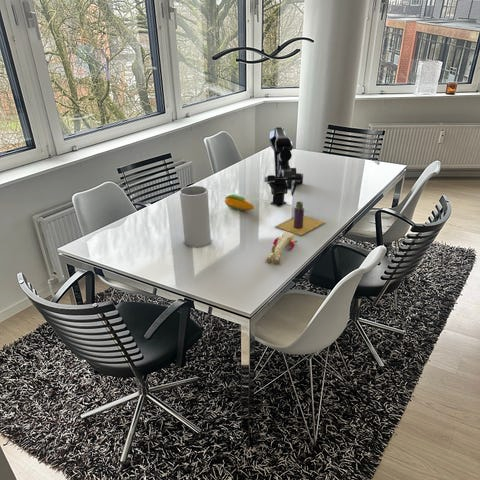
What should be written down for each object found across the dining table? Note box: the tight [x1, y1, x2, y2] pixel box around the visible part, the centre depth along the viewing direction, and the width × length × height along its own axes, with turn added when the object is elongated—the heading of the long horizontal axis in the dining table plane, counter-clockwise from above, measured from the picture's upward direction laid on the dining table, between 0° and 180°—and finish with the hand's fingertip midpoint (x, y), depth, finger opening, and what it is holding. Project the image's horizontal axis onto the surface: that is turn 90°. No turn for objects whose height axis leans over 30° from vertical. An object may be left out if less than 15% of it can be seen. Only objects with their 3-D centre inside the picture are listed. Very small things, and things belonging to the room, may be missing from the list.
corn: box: [224, 194, 255, 212], centre depth 248 cm, size 7×8×20 cm
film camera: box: [286, 167, 304, 190], centre depth 279 cm, size 18×12×10 cm
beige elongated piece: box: [266, 231, 298, 265], centre depth 205 cm, size 10×9×25 cm
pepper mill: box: [293, 201, 305, 229], centre depth 225 cm, size 5×5×12 cm
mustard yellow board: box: [275, 215, 325, 237], centre depth 231 cm, size 20×16×1 cm
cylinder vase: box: [179, 185, 212, 248], centre depth 211 cm, size 12×12×25 cm
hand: (283, 196), depth 232 cm, fingers open, 9 cm apart
